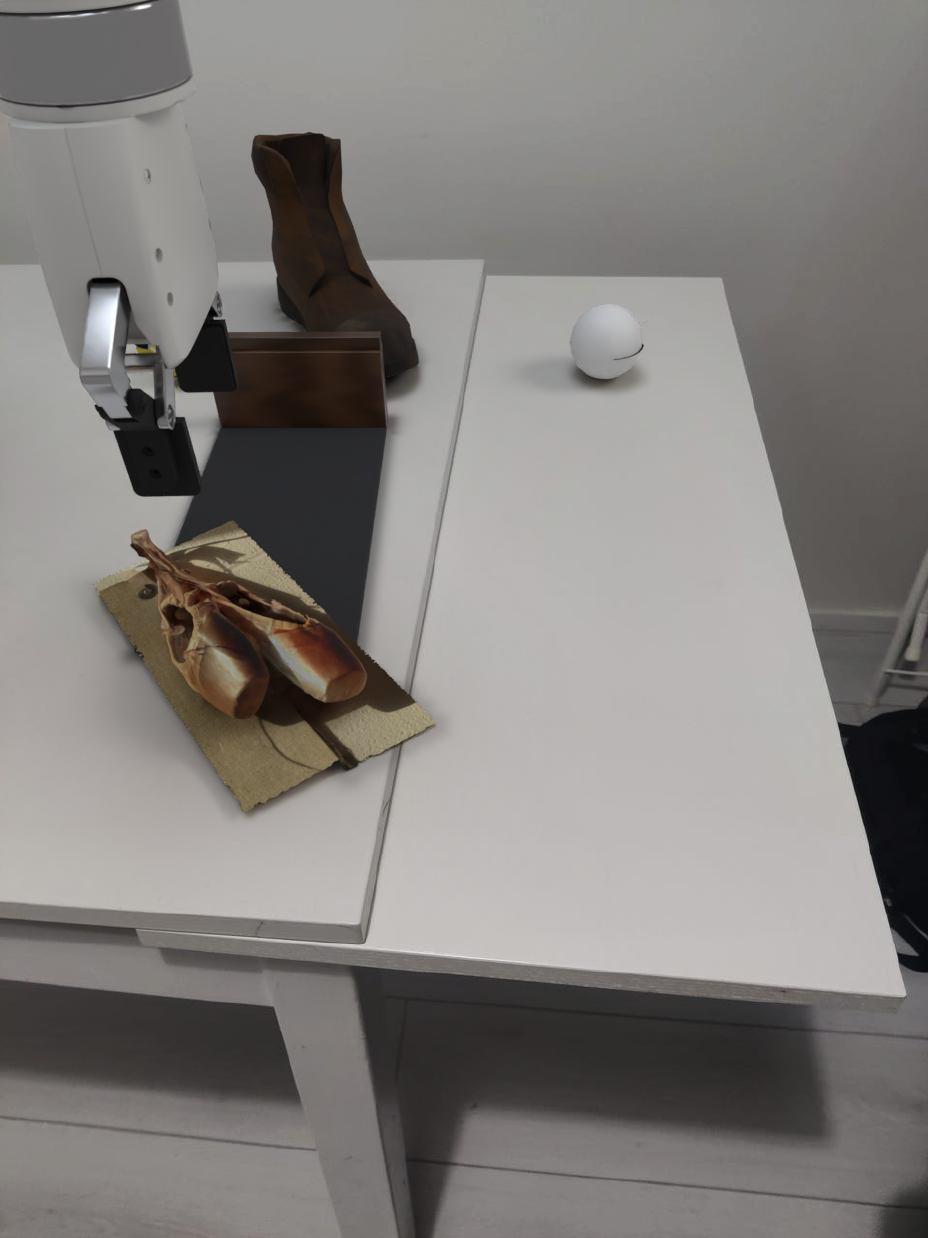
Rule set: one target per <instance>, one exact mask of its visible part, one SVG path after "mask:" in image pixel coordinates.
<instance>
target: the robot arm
mask: <svg viewBox="0 0 928 1238" xmlns="http://www.w3.org/2000/svg"><path fill="white" fill-rule="evenodd" d="M193 71H194V70H193V66H192V60H191V56H190V51H189V46H188V41H187V35H186V31H185V25H184V21H183V16H182V12H181V5H180V1H179V0H0V112H1V113H3V114H4V115H6V116H7V117H10V118H11V119H10V120H9V121H8V129H9V135H10V141H11V142H10V143H11V147H12V152H13V159H14V164H15V167H16V173H17V178H18V182H19V187H20V193H21V196H22V197H21V198H22V202H23V205H24V209H25V213H26V217H27V218H26V219H27V221H28V224H29V228H30V233H31V236H32V239H33V244H34V247H35V251H36V254H37V257H38V261H39V264H40V268H41V271H42V274H43V278H44V282H45V284H46V288H47V292H48V295H49V298H50V301H51V304H52V309H53V312H54V314H55V317H56V320H57V324H58V326H59V330H60V332H61V336H62V339H63V341H64V344H65V345H64V346H65V348H66V350H67V353H68V356H69V358H70V360H71V362H72V363H73V365H74V366H75V367H76V368H78V375H79V380H80V383H81V385H82V387H83V388H84V389H85V391H86V393H88V395H89V396H90V398H91V399H92V400H93V402H94V403H95V404H94V409H95V411H96V412H97V413H98V416H99V417H100V418H101V419H103V420H104V422H105V425H106V427H107V429H108V430H109V431H110V432H113V433H114V437H115V441H116V443H117V446H118V449H119V452H120V455H121V458H122V461H123V464H124V466H125V470H126V473H127V475H128V479H129V481H130V482H129V483H130V485H131V487H132V490H133V492H134V494H135V495H137V496H138V497H141V498H153V497H154V498H156V497H158V498H159V497H160V498H161V497H162V498H163V497H194V496H197V495H199V494H200V492H201V489H202V486H203V482H202V478H201V477H202V475H201V472H200V468H199V464H198V461H197V457H196V452H195V449H194V445H193V442H192V439H191V434H190V431H189V427H188V423H187V420H186V416H177V413H176V412H177V411H176V390H175V389H176V388H175V387H176V386H175V377H174V369H175V372H176V376H177V378H176V379H177V383H178V387H179V389H180V391H182V392H184V393H187V394H191V393H192V394H197V393H213V392H233V391H235V390H236V388H237V385H238V377H237V372H236V368H235V363H234V359H233V354H232V349H231V345H230V340H229V335H228V332H229V331H228V327H227V322H226V319H225V318H221V317H222V316H223V311H224V309H223V300H222V297H221V294H220V293H219V291H218V287H219V278H220V277H219V265H218V258H217V251H216V245H215V239H214V235H213V229H212V225H211V220H210V216H209V211H208V206H207V202H206V197H205V194H204V189H203V185H202V180H201V177H200V173H199V168H198V166H197V162H196V161H197V160H196V157H195V153H194V149H193V145H192V142H191V137H190V134H189V131H188V124H187V122H186V119H185V116H184V112H183V109H182V105H181V103H183V102H186V101H187V100H189V99H190V98H191V97H193V96H194V93H196V91H197V86H196V80H195V76H194V72H193ZM214 318H216V319H214ZM217 318H218V319H217ZM220 318H221V319H220ZM135 344H151V345H152V346H156V353H138V352H137V353H135V352H134V353H133V352H131V353H128V352H127V346H128V345H135ZM126 352H127V353H126ZM133 373H137V374H138V373H140V374H141V373H142V374H143V373H152V374H153V375H152V376H153V395H154V396H153V397H154V398H153V397H152V396H151V395H149V394H148V393H147V392H145V391H144V390H143V389H142V388H138V387H137V388H133V387H132V386H131V379H130V377H129V376H128V374H133Z"/></svg>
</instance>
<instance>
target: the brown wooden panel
mask: <svg viewBox="0 0 928 1238" xmlns="http://www.w3.org/2000/svg"><path fill="white" fill-rule="evenodd" d="M228 335H229V340H230V345H231V349H232V354H233V359H234V363H235V368H236V372H237V377H238V385H237V388H236V390H235V391H233V392H212V394H213V398H214V401H215V402H214V403H215V407H216V412H217V415H218V419H219V424H220V428H386V429H387V427H388V421H389V413H388V412H389V411H388V400H387V399H388V398H387V390H386V388H387V387H386V378H385V373H384V361H383V348H382V342H381V332H380V331H376V332H308V331H228Z"/></svg>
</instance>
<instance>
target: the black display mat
mask: <svg viewBox="0 0 928 1238" xmlns="http://www.w3.org/2000/svg"><path fill="white" fill-rule="evenodd" d="M386 436H387V428H221V427H220V428H219V431H218V434H217V436H216V438H215V441H214V444H213V446H212V449H211V452H210V454H209V456H208V459H207V461H206V464H205V467H204V469H203V472H202V475H201V478H202V482H203V486H202V489H201V492H200V494H199V495H197V496H193V498H192V500H191V503H190V505H189V508H188V510H187V513H186V516H185V518H184V521H183V524H182V526H181V529H180V531H179V534H178V537H177V539H176V541H175V544H174V547H175V546H180V544H182V543H185V542H187V541H191V540H192V539H193V538H194V537H196V536H198V535H200V534H203V533H206V532H208V531H209V530H212V529H214V528H217V527H220V526H222V525H223V524H225V523H227V522H229V521H234V522H235V523H236V524H238V527H239V528H241V530H244V532H245V533H246V534H247V536H250V537H251V539H252V540H254V541H255V542H256V543H257V545H259V547H260V548H262V549H263V551H264V552H265V553H267V557H268V556H270V558H271V559H272V560H274V562H276V565H277V564H278V565H279V567H281V568H282V569H283V571H285V574H288V576H290V579H292V580H294V581H295V582H296V584H297V585H298V586H300V588H302V590H303V591H302V592H304V593H305V592H306V593H307V595H309V596H310V598H313V599H314V601H315V602H313V604H315V603H316V604H317V606H318V605H319V606H321V607H322V609H324V611H325V612H326V613H327V614H328V615H329V616H330V617H331V618H332V620H333V621H334V623H337V624H338V625H337V626H339V625H340V628H341V629H344V631H345V632H346V633H347V634H349V636H351V639H353V640H354V641H355V642H357V643H356V644H358V640H359V632H360V626H361V625H360V624H361V617H362V611H363V603H364V595H365V590H366V589H365V587H366V581H367V574H368V567H369V559H370V552H371V545H372V539H373V538H372V537H373V531H374V523H375V516H376V509H377V500H378V494H379V486H380V479H381V473H382V465H383V458H384V452H385V451H384V450H385V444H386V438H387V437H386ZM136 646H137V644H136V645H135V646H134V653H135V654H143V653H142V652H139V651H138V652H136V650H137V648H138V647H136Z"/></svg>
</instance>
